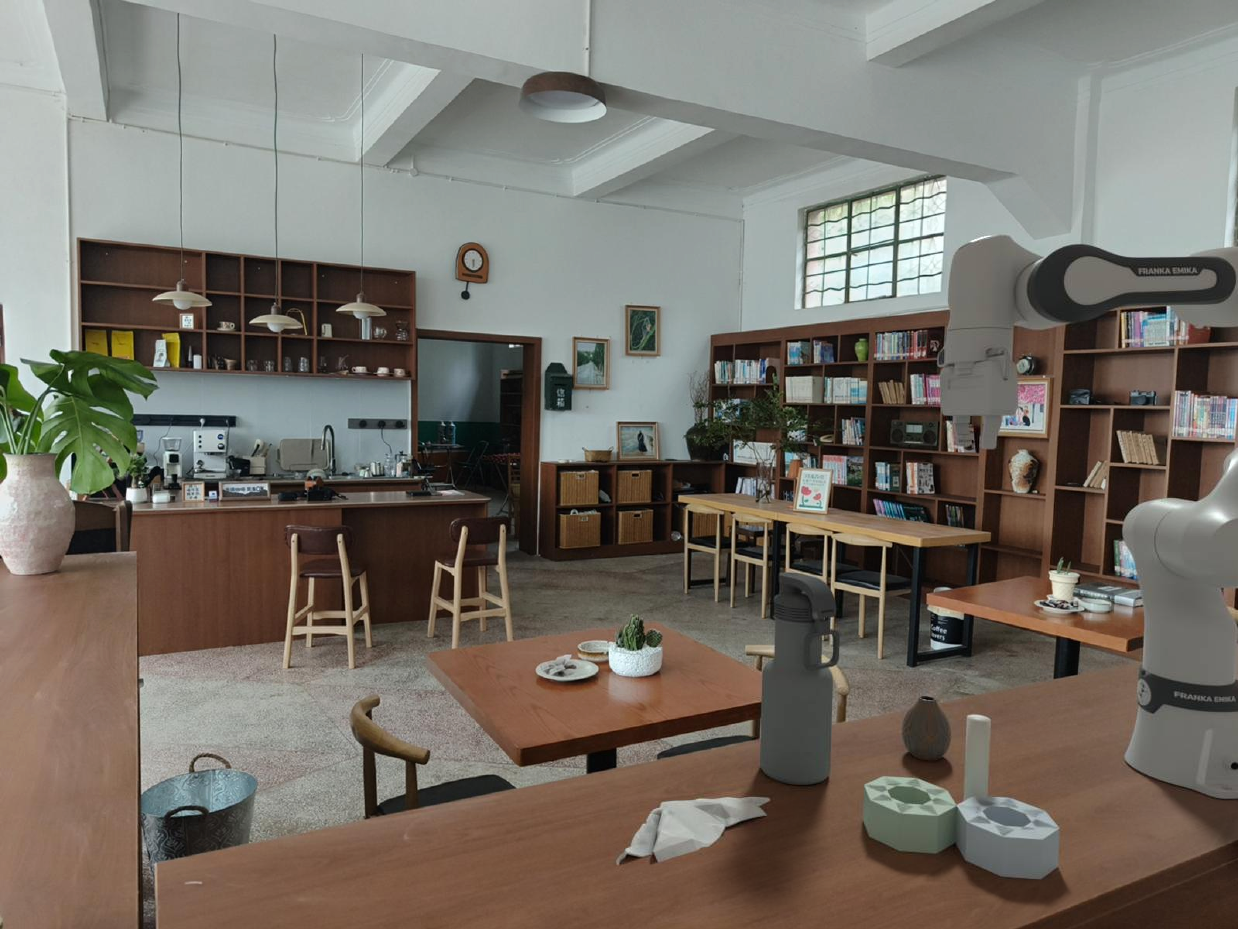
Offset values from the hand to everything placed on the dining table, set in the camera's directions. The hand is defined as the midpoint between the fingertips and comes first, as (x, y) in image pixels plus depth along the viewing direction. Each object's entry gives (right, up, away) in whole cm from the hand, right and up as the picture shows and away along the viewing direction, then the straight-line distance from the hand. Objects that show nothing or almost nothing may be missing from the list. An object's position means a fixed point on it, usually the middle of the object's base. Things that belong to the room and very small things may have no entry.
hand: (974, 447), depth 120 cm
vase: (-6, -46, +4) cm, 47 cm away
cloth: (-42, -48, -18) cm, 66 cm away
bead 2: (-7, -48, -24) cm, 54 cm away
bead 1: (-16, -47, -19) cm, 53 cm away
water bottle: (-26, -46, -3) cm, 53 cm away
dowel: (-6, -47, -13) cm, 49 cm away
